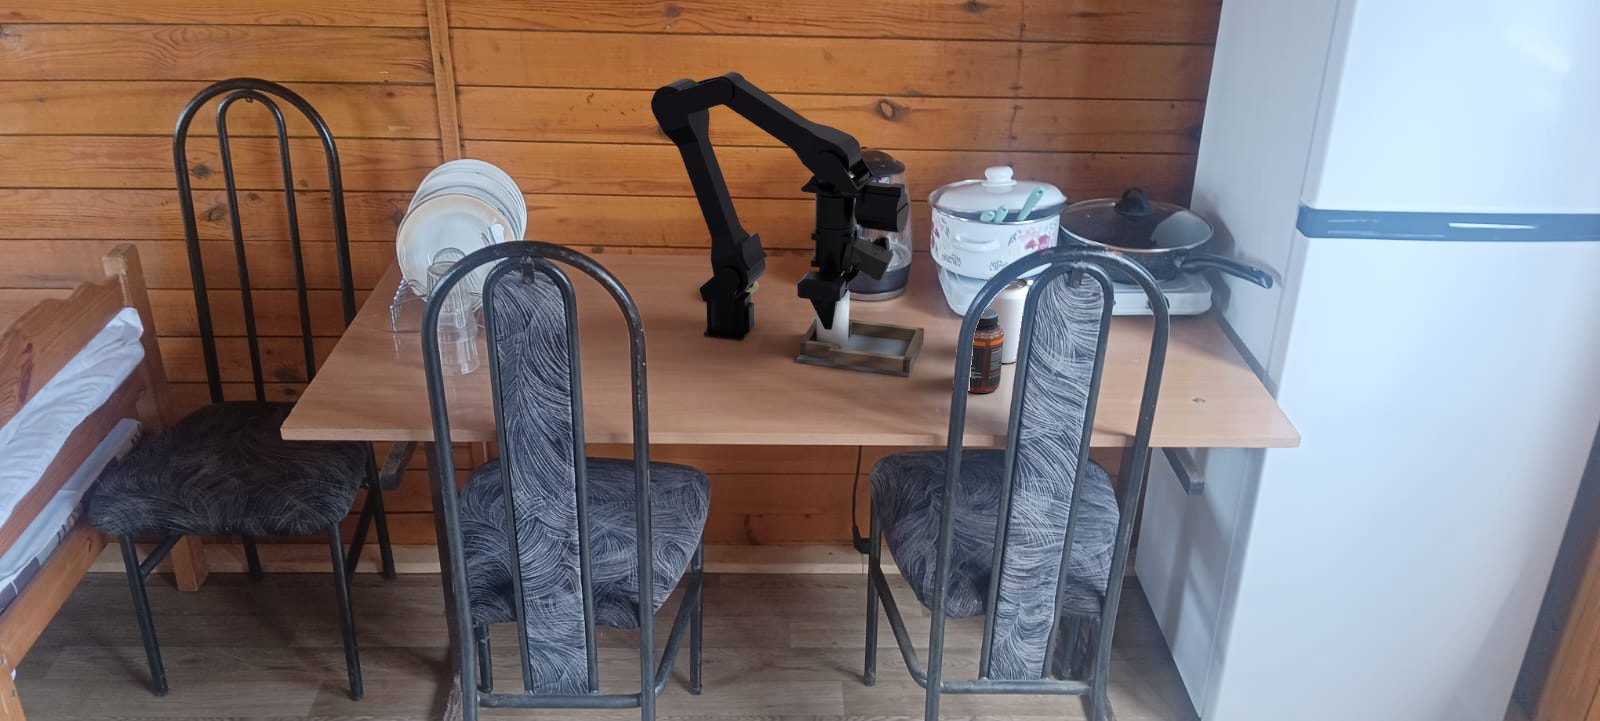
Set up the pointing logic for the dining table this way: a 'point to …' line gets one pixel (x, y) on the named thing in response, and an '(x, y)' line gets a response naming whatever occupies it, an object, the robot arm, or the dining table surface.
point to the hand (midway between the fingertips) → (832, 322)
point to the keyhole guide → (866, 348)
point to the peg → (836, 324)
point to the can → (1010, 316)
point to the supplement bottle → (987, 353)
